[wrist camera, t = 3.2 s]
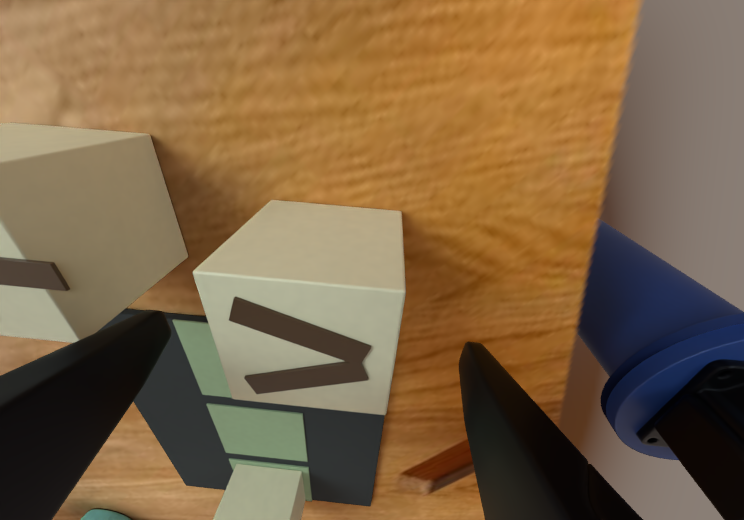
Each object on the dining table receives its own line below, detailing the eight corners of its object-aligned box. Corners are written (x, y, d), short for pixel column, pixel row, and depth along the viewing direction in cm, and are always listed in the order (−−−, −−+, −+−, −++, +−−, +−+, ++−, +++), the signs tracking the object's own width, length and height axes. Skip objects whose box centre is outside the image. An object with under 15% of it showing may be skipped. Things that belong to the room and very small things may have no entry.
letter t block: (170, 135, 10) (-7, 173, 6) (204, 258, 12) (102, 349, 8) (11, 122, 10) (-282, 149, 6) (78, 246, 13) (-87, 330, 8)
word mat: (396, 335, 14) (396, 342, 14) (370, 500, 25) (370, 508, 24) (82, 303, 14) (73, 310, 14) (188, 480, 25) (185, 487, 24)
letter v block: (402, 210, 11) (406, 294, 6) (389, 311, 13) (386, 419, 9) (270, 199, 11) (187, 273, 6) (283, 300, 13) (230, 403, 9)
